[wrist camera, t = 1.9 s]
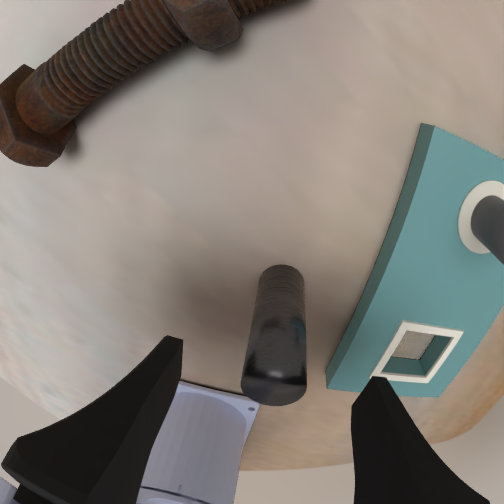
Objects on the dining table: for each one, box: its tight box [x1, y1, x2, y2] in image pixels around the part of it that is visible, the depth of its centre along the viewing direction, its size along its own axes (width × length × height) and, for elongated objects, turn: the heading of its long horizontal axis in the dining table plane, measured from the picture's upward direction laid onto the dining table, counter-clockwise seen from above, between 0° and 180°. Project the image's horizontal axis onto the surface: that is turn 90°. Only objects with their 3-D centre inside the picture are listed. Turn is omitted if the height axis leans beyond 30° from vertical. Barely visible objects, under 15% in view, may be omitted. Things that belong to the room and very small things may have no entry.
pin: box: [241, 265, 307, 406], centre depth 14 cm, size 2×2×7 cm
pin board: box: [326, 123, 504, 397], centre depth 13 cm, size 16×9×7 cm, turn 169°
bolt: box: [0, 0, 287, 167], centre depth 10 cm, size 6×5×15 cm
